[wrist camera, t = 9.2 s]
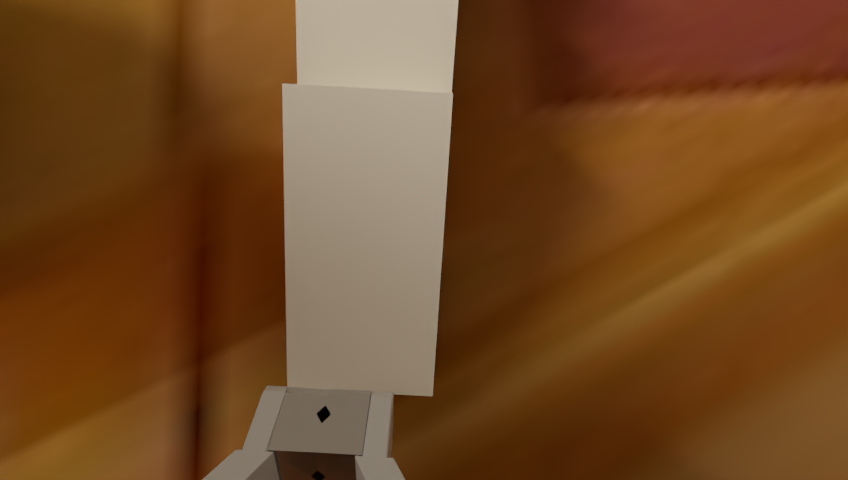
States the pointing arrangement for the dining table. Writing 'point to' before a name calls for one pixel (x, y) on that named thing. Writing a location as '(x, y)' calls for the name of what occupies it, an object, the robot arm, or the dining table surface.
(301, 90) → the domino
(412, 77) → the domino
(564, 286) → the dining table surface
